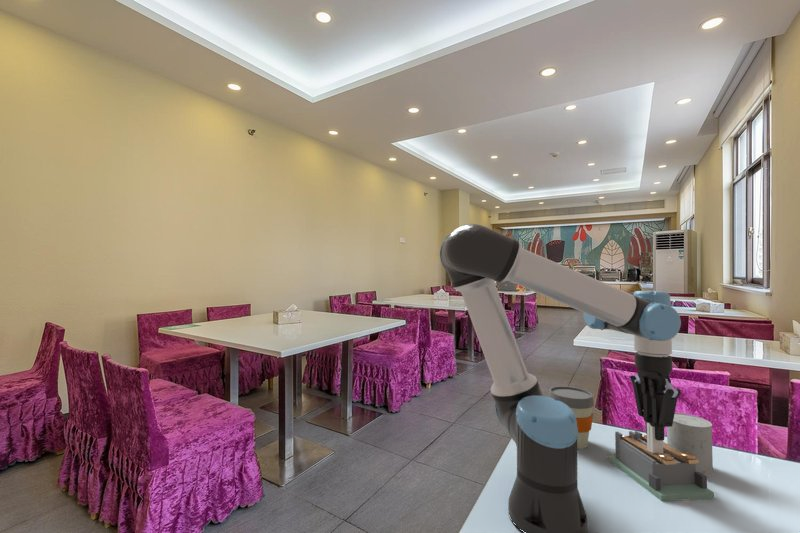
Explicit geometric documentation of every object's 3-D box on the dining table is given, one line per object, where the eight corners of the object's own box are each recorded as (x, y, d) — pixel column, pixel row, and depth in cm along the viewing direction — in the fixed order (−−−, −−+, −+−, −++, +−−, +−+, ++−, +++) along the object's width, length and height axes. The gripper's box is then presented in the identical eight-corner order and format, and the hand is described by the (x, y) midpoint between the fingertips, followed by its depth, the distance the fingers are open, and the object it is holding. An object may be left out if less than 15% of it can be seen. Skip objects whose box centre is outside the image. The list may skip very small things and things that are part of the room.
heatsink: (661, 500, 79) (660, 463, 79) (607, 459, 97) (607, 429, 97) (714, 497, 80) (713, 461, 81) (651, 457, 98) (650, 428, 98)
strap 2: (688, 465, 81) (687, 457, 81) (638, 439, 96) (638, 433, 96) (699, 464, 82) (698, 457, 82) (648, 439, 96) (647, 433, 97)
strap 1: (665, 466, 81) (665, 458, 81) (619, 440, 96) (619, 434, 96) (677, 465, 81) (676, 458, 81) (629, 440, 96) (628, 433, 96)
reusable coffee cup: (542, 432, 114) (542, 385, 115) (581, 432, 114) (580, 386, 114) (559, 451, 101) (559, 399, 102) (603, 452, 101) (602, 399, 102)
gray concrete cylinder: (661, 454, 100) (660, 411, 100) (702, 460, 97) (701, 415, 97) (675, 472, 91) (674, 424, 91) (721, 479, 88) (720, 429, 88)
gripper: (691, 359, 80) (694, 464, 79) (646, 348, 93) (648, 438, 93) (660, 360, 80) (663, 466, 79) (619, 348, 93) (621, 439, 92)
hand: (655, 451), depth 86 cm, fingers closed
